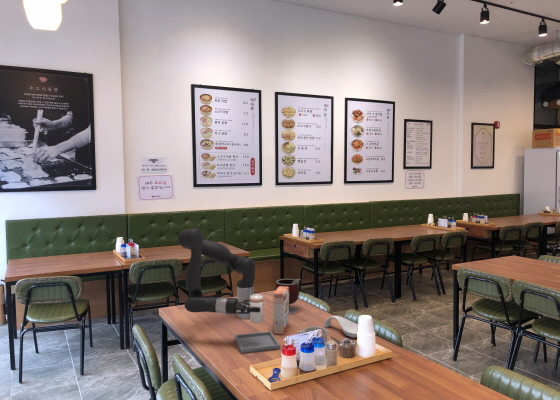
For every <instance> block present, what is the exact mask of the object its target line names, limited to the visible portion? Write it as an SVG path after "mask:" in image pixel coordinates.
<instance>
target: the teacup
mask: <svg viewBox="0 0 560 400" xmlns="http://www.w3.org/2000/svg"><path fill="white" fill-rule="evenodd" d="M317 329H321V330H322V335H321V337H322V338H323V339H324V341H325V342H326V343H327V341H328V330H327V329H326V328H325V327H322V326H317V325H316V326H312V325H311V326H308V327H306V328H304V330H301V329H299V330H297V332H296V335H297V334H299V335H300V333H301V334H303V333H306V332H309V331H314V330H317Z"/></svg>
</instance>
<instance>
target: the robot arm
mask: <svg viewBox="0 0 560 400" xmlns="http://www.w3.org/2000/svg"><path fill="white" fill-rule="evenodd" d="M177 241H178V244H179V245H180V246H181V247H182V248H185V249H188V250H190V259H189V262H188V265H187V268H186V270H185V288H186V291H188V295H189V297H188V298H187V299H185V301H184V308H185V310H186V311H188V312H189V313H214V314H215V313H216V314H217V313H218V314H222V315H223V314H225V315H236V316H237V318H238V319H244V320H247V319H250V313H252V312H260V307H250V295H253V294H255V292H254V288H255V287H254V283H255V280H256V262H255V260H254V259H253V258H250V257H246V256H239V255H237V254H235V253H232V252H231V250H230V249H229V248H228V247H226V246H225V245H224V244H221V243H219V242H216V241H213V240H210V239H209V240H208V239H204V235H203V232H202V231H201V230H200V229H199V228H187V229H183V230H181V231H179V233H178V234H177ZM202 256H204V257H206V258H208V259H210V260H212V261H214V262H216V263H218V264H221V265H223V266H226V267H228V268H230V269H231V270H233V271H234V272H236V273H239V274H242V278H241V279H238V280H237V281H236V297H225V296H224V297H214V296H213V297H212V296H211V297H204V295H203V291H202V288H201V286H202V283H201V264H202V263H201V262H202Z"/></svg>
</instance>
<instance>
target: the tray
mask: <svg viewBox="0 0 560 400" xmlns="http://www.w3.org/2000/svg"><path fill="white" fill-rule="evenodd" d="M234 340H235V342H236V345H237V347H238V349H239V351H240V354H242V355H243V354H251V353H261V352H268V351H279V350H281V344H280V342H279V341H278V339H277V338H276V337H275V334H273V331H271V330H269V331H260V332H259V331H258V332H249V333H241V334H234Z"/></svg>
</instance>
